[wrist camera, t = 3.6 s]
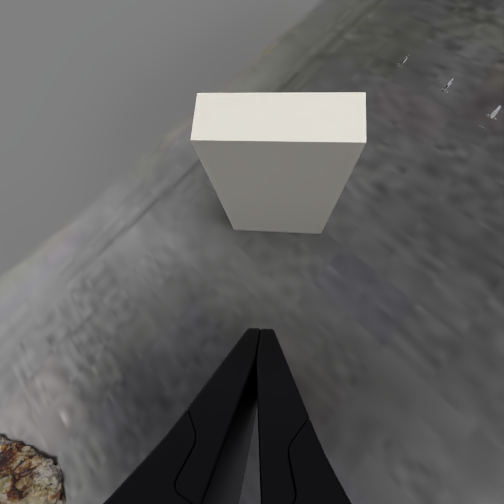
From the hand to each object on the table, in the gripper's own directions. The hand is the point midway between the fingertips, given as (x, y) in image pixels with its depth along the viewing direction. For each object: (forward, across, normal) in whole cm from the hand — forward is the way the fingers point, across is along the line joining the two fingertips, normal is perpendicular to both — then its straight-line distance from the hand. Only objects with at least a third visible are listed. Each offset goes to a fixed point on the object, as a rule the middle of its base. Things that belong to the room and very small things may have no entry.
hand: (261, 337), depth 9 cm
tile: (+15, 0, +2) cm, 15 cm away
